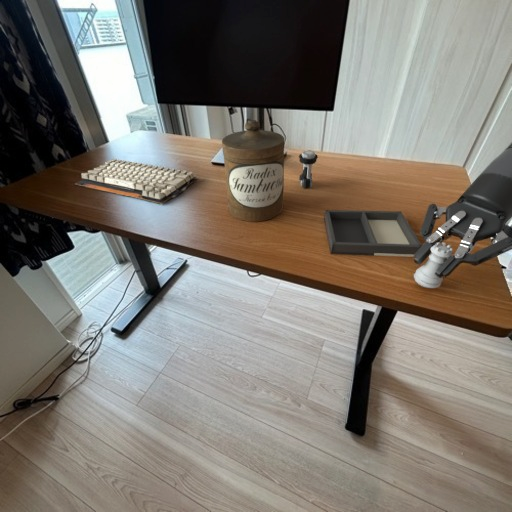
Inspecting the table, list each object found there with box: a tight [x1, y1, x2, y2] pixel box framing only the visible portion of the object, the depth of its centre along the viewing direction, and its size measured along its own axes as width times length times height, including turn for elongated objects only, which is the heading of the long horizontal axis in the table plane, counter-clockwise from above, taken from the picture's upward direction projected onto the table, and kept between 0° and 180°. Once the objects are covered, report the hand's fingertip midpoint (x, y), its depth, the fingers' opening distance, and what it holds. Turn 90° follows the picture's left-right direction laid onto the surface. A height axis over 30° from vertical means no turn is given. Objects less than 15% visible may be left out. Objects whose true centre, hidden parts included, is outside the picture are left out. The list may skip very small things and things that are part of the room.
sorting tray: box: [323, 209, 423, 258], centre depth 61 cm, size 18×14×3 cm
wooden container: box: [221, 119, 285, 222], centre depth 67 cm, size 15×15×22 cm
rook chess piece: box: [413, 241, 454, 289], centre depth 47 cm, size 4×4×8 cm
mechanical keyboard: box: [73, 158, 197, 205], centre depth 88 cm, size 38×19×3 cm, turn 66°
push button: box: [298, 150, 319, 190], centre depth 81 cm, size 7×5×10 cm
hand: (427, 268), depth 46 cm, fingers closed on rook chess piece, 3 cm apart
